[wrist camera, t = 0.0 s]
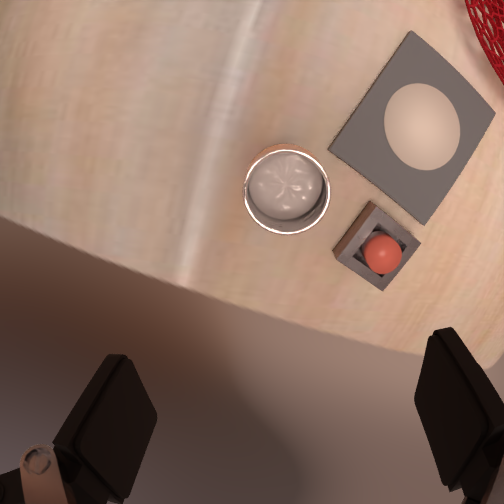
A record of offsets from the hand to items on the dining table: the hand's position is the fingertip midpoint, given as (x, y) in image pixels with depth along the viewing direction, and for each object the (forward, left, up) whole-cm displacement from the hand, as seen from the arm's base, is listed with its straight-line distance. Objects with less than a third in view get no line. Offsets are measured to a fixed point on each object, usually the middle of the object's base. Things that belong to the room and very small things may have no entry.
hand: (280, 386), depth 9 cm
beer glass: (-2, -1, -31) cm, 32 cm away
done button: (-1, +14, -29) cm, 33 cm away
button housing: (-1, +14, -31) cm, 34 cm away
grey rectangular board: (-17, +10, -31) cm, 37 cm away
